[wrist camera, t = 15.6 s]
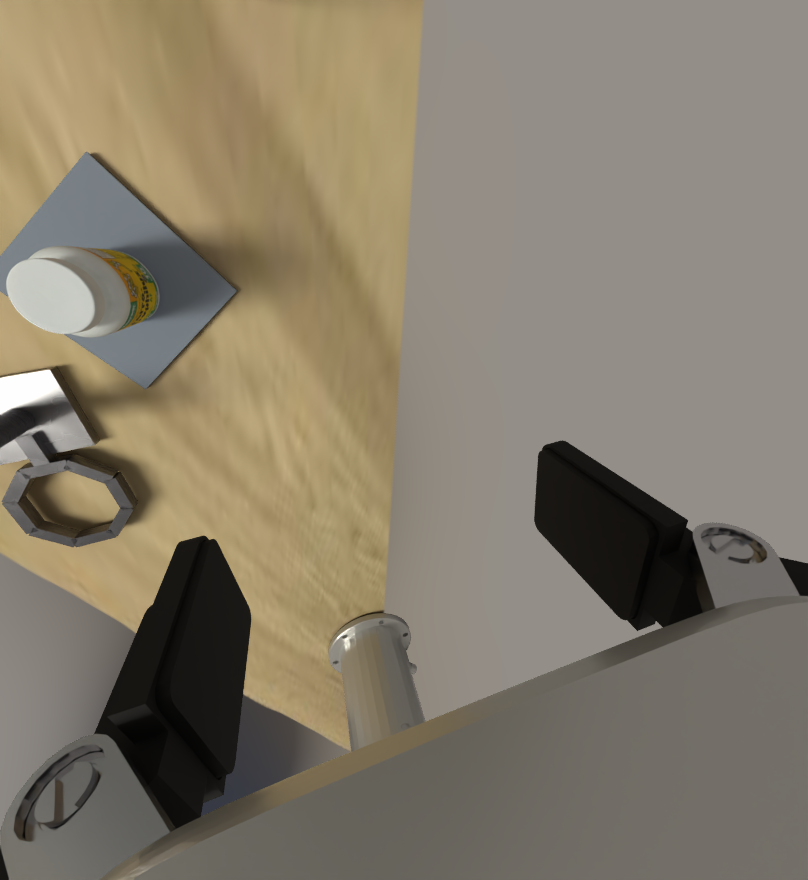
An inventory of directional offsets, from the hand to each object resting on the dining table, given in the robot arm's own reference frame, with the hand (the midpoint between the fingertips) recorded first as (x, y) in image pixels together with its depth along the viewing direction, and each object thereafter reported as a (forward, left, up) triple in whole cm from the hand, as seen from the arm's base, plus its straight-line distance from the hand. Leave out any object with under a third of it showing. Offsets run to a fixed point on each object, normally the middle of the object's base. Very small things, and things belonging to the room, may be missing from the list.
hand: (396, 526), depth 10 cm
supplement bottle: (+14, +8, -28) cm, 32 cm away
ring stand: (+9, +25, -28) cm, 39 cm away
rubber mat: (+14, +8, -28) cm, 33 cm away
